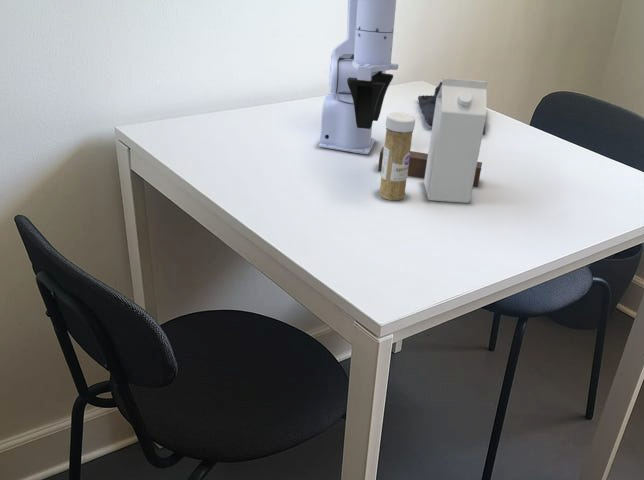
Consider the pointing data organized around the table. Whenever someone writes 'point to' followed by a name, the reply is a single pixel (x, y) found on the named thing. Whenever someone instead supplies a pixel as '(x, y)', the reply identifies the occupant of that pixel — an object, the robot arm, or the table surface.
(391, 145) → the sprinkles bottle
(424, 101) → the dark slate chunk
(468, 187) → the milk carton
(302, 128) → the table surface
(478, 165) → the walnut rail
